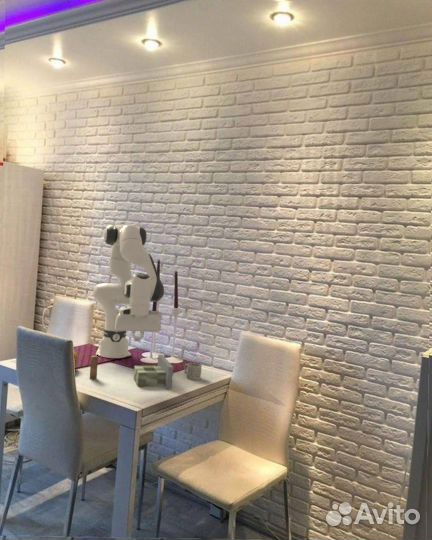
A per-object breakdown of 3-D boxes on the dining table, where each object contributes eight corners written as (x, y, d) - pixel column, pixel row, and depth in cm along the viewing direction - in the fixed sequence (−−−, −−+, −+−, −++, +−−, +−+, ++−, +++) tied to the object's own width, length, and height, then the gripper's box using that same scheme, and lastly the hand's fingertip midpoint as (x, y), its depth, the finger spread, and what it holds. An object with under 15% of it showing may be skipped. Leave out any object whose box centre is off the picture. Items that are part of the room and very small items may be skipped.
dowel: (89, 377, 219) (90, 355, 218) (96, 377, 220) (97, 355, 219) (89, 379, 216) (91, 357, 215) (96, 379, 217) (98, 357, 216)
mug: (203, 379, 232) (204, 365, 231) (193, 381, 227) (194, 367, 226) (189, 373, 238) (190, 360, 238) (179, 375, 234) (180, 362, 233)
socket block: (133, 378, 223) (134, 365, 222) (158, 378, 226) (159, 365, 226) (137, 386, 211) (138, 373, 211) (164, 386, 215) (165, 372, 215)
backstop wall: (156, 375, 231) (158, 354, 231) (160, 375, 232) (162, 354, 231) (167, 389, 210) (168, 367, 210) (171, 389, 211) (173, 367, 211)
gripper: (160, 310, 221) (158, 339, 222) (115, 308, 215) (113, 338, 216) (163, 312, 215) (161, 342, 216) (117, 310, 209) (114, 342, 210)
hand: (136, 340), depth 216 cm, fingers closed
